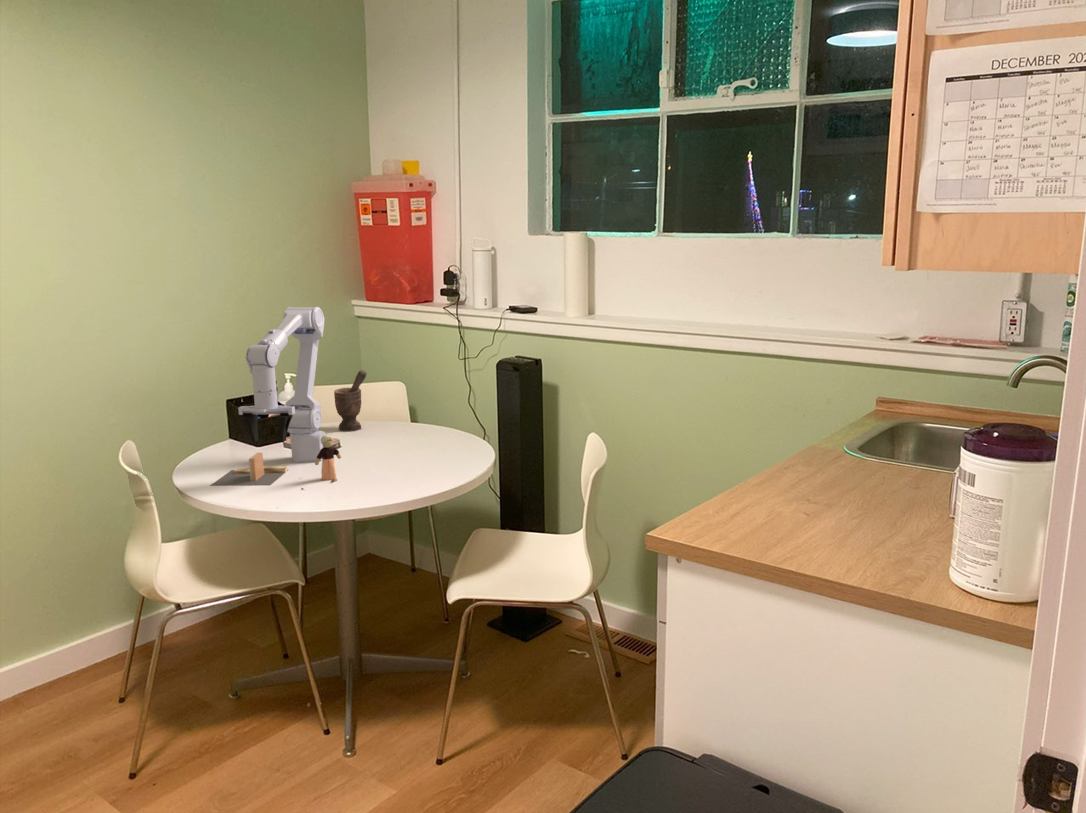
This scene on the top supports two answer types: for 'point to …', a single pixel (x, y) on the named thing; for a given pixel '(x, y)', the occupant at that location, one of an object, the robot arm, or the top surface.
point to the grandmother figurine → (327, 458)
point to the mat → (246, 479)
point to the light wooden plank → (266, 470)
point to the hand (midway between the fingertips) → (269, 441)
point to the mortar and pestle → (349, 404)
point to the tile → (256, 466)
